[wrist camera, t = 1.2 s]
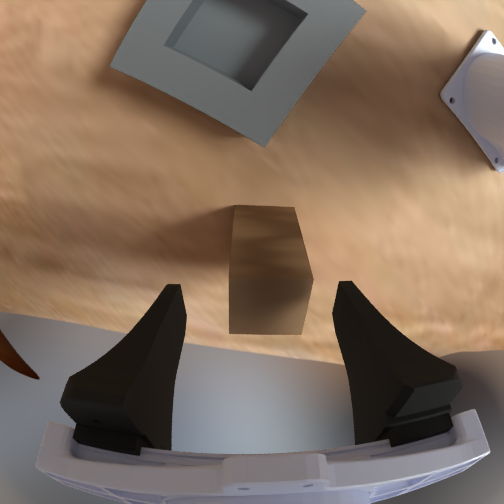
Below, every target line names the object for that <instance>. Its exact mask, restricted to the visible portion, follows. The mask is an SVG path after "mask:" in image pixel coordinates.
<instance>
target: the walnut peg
mask: <svg viewBox="0 0 504 504" xmlns="http://www.w3.org/2000/svg"><path fill="white" fill-rule="evenodd" d="M313 280H314V279H313V275H312V271H311V267H310V264H309V260H308V256H307V252H306V248H305V245H304V241H303V237H302V233H301V230H300V226H299V223H298V219H297V215H296V212H295V208H294V207H277V206H251V205H235V207H234V219H233V231H232V243H231V256H230V269H229V334H259V335H301V334H302V330H303V325H304V321H305V317H306V312H307V308H308V303H309V299H310V294H311V289H312V285H313Z"/></svg>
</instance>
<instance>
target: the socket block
mask: <svg viewBox="0 0 504 504" xmlns="http://www.w3.org/2000/svg"><path fill="white" fill-rule="evenodd" d="M365 12H366V10H365V9H364V8H362V7H361V6H360V5H358V4H357V3H356V2H354V1H353V0H147V1H146V2H145V4H144V5H143V7H142V8H141V10H140V12H139V13H138V15H137V17H136V18H135V20H134V22H133V23H132V25H131V27H130V28H129V30H128V32H127V34H126V36H125V37H124V39H123V41H122V43H121V45H120V47H119V48H118V50H117V52H116V54H115V56H114V58H113V60H112V62H111V64H110V66H109V67H111V68H114V69H116V70H118V71H120V72H123V73H125V74H127V75H129V76H131V77H134V78H136V79H138V80H140V81H142V82H144V83H146V84H148V85H150V86H153V87H155V88H157V89H159V90H161V91H163V92H165V93H167V94H169V95H171V96H173V97H175V98H177V99H179V100H181V101H182V102H184V103H186V104H188V105H190V106H192V107H194V108H196V109H198V110H199V111H201V112H203V113H205V114H207V115H209V116H211V117H212V118H214V119H216V120H218V121H220V122H221V123H223V124H225V125H227V126H228V127H230V128H232V129H234V130H235V131H237V132H239V133H241V134H242V135H244V136H246V137H247V138H249V139H251V140H252V141H254V142H256V143H257V144H259V145H261V146H262V147H265V146H266V145H267V143H268V142H269V140H270V139H271V137H272V136H273V135H274V133H275V132H276V130H277V129H278V127H279V126H280V125H281V123H282V122H283V120H284V119H285V118H286V116H287V115H288V113H289V112H290V111H291V109H292V108H293V107H294V105H295V104H296V102H297V101H298V100H299V98H300V97H301V96H302V94H303V93H304V92H305V90H306V89H307V87H308V86H309V85H310V83H311V82H312V81H313V79H314V78H315V77H316V75H317V74H318V73H319V71H320V70H321V69H322V67H323V66H324V65H325V63H326V62H327V61H328V59H329V58H330V57H331V56H332V54H333V53H334V52H335V50H336V49H337V48H338V46H339V45H340V44H341V43H342V41H343V40H344V39H345V38H346V36H347V35H348V34H349V32H350V31H351V30H352V29H353V27H354V26H355V25H356V24H357V22H358V21H359V20H360V19H361V17H362V16H363V15H364V14H365Z"/></svg>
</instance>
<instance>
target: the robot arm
mask: <svg viewBox="0 0 504 504" xmlns="http://www.w3.org/2000/svg"><path fill="white" fill-rule="evenodd" d="M492 40H493V43H492ZM440 96H441V99H442V100H443V101H444V103H445V104H446V105H447V106H448V107H449V108H450V109H451V111H452V112H453V113H454V114H455V115H456V117H457V118H458V119H459V120H460V122H461V123H462V124H463V125H464V127H465V128H466V129H467V130H468V132H469V133H470V134H471V136H472V137H473V138H474V140H475V141H476V142H477V144H478V145H479V146H480V148H481V149H482V150H483V152H484V153H485V155H486V156H487V158H488V159H489V160H490V162H491V163H492V165H493V166H494V168H495V169H496V171H497V172H499V173H502V172H503V171H504V48H503V47H502V45H501V44H500V42H499V41H498V40H497V38H496V37H495V36H494V34H493V33H492V32H491V31H490V30H485V31H484V32H483V33H482V35H481V36H480V37H479V39H478V40H477V42H476V43H475V45H474V46H473V48H472V49H471V50H470V52H469V53H468V55H467V56H466V57H465V59H464V60H463V62H462V63H461V64H460V66H459V67H458V69H457V70H456V71H455V73H454V74H453V76H452V77H451V78H450V80H449V81H448V82H447V84H446V85H445V86H444V88H443V89H442V91H441V93H440ZM450 98H452V102H451V103H450ZM495 158H496V160H495ZM332 315H333V321H334V327H335V333H336V336H337V339H338V343H339V346H340V350H341V353H342V357H343V360H344V363H345V367H346V370H347V375H348V379H349V386H350V392H351V400H352V408H353V419H354V432H355V445H353V446H347V447H340V448H333V449H324V450H315V451H305V452H293V453H275V454H207V453H191V452H179V451H171V438H172V436H171V433H172V411H173V397H174V386H175V379H176V373H177V369H178V364H179V359H180V355H181V351H182V346H183V342H184V337H185V330H186V320H187V314H186V310H185V305H184V300H183V295H182V290H181V285H180V284H167V285H166V286H165V288H164V289H163V291H162V292H161V293H160V295H159V296H158V298H157V299H156V300H155V302H154V303H153V304H152V306H151V307H150V308H149V310H148V311H147V312H146V313H145V315H144V316H143V317H142V318H141V319H140V321H139V322H138V323H137V324H136V325H135V326H134V328H133V329H132V330H131V331H130V332H129V333H128V334H127V335H126V336H125V337H124V338H123V339H122V340H121V341H120V342H119V343H118V344H117V345H116V346H115V347H113V348H112V349H111V350H110V351H108V352H107V353H106V354H105V355H103V356H102V357H101V358H99V359H98V360H97V361H95V362H94V363H92V364H91V365H89V366H88V367H86V368H85V369H83V370H81V371H79V372H77V373H76V374H74V375H72V376H70V377H69V379H68V381H67V384H66V386H65V389H64V392H63V395H62V398H61V401H60V404H61V407H62V408H63V409H64V411H65V412H66V413H67V414H68V415H69V416H70V417H71V418H72V419H73V420H74V421H75V422H76V423H77V424H76V427H75V429H73V428H71V427H69V426H66V425H62V424H58V423H55V422H51V421H50V422H48V424H47V427H46V430H45V434H44V437H43V440H42V444H41V447H40V450H39V454H38V457H37V461H36V465H35V467H36V468H37V469H38V470H40V471H42V472H43V473H45V474H46V475H48V476H50V477H51V478H53V479H55V480H57V481H58V482H60V483H62V484H64V485H66V486H69V487H72V488H75V489H79V490H82V491H85V492H88V493H91V494H95V495H98V496H101V497H105V498H109V499H112V500H116V501H120V502H123V503H127V504H370V503H373V502H377V501H380V500H384V499H387V498H391V497H394V496H397V495H400V494H403V493H407V492H410V491H412V490H415V489H418V488H421V487H424V486H427V485H429V484H432V483H435V482H437V481H440V480H443V479H445V478H448V477H450V476H453V475H455V474H458V473H460V472H462V471H464V470H465V469H467V468H468V467H470V466H471V465H473V464H475V463H476V462H477V461H479V460H480V459H482V458H483V457H485V456H486V455H487V454H489V453H490V449H489V446H488V443H487V440H486V437H485V434H484V431H483V429H482V426H481V423H480V421H479V418H478V416H477V413H476V410H475V409H472V410H469V411H466V412H463V413H460V414H457V415H455V416H453V417H452V418H451V417H450V414H449V412H451V406H450V404H449V403H450V402H451V401H452V400H453V399H454V398H455V396H456V395H457V394H458V393H459V392H460V390H461V388H462V385H463V382H462V380H461V377H460V375H459V373H458V371H457V369H456V367H455V366H454V365H452V364H450V363H448V362H446V361H444V360H441V359H439V358H438V357H436V356H434V355H432V354H431V353H429V352H427V351H426V350H424V349H423V348H421V347H420V346H418V345H417V344H415V343H414V342H412V341H411V340H410V339H408V338H407V337H406V336H405V335H403V334H402V333H401V332H400V331H399V330H397V329H396V328H395V327H394V326H393V325H392V324H391V323H390V322H389V321H388V320H387V319H385V318H384V317H383V316H382V315H381V314H380V312H379V311H378V310H377V309H376V308H375V307H374V306H373V305H372V304H371V303H370V302H369V300H368V299H367V298H366V297H365V296H364V295H363V293H362V292H361V291H360V290H359V289H358V288H357V287H356V285H355V284H354V283H353V282H352V281H339V284H338V289H337V293H336V298H335V303H334V307H333V312H332Z"/></svg>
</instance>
